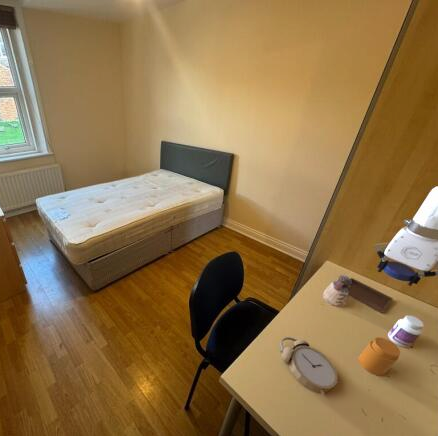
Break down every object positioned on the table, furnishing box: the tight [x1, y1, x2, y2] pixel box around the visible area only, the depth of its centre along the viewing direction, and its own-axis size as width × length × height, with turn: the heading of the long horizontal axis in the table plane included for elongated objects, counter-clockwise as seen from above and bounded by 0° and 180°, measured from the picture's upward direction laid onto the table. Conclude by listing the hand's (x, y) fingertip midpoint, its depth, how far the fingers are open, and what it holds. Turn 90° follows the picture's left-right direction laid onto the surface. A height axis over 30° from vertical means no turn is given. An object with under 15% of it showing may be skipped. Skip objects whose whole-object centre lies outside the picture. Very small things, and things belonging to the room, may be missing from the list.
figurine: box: [322, 275, 353, 308], centre depth 87 cm, size 7×7×12 cm
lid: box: [382, 260, 417, 282], centre depth 72 cm, size 7×7×2 cm
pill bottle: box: [387, 315, 425, 348], centre depth 73 cm, size 5×5×10 cm
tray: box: [348, 277, 394, 314], centre depth 90 cm, size 13×9×2 cm
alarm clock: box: [280, 336, 341, 397], centre depth 68 cm, size 11×5×15 cm
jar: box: [357, 337, 401, 377], centre depth 66 cm, size 6×6×10 cm
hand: (395, 276), depth 73 cm, fingers closed on lid, 6 cm apart
